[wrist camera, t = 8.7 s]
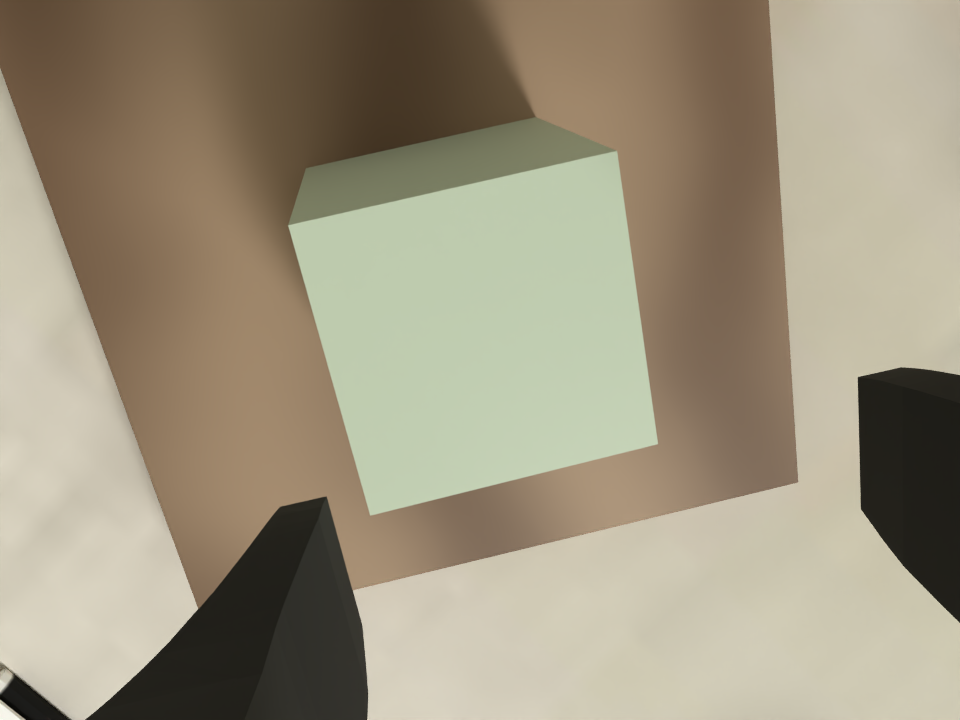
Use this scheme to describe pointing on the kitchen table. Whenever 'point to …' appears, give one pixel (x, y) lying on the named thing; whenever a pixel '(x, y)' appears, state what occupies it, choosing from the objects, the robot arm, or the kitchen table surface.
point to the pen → (23, 701)
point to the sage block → (476, 308)
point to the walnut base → (374, 128)
